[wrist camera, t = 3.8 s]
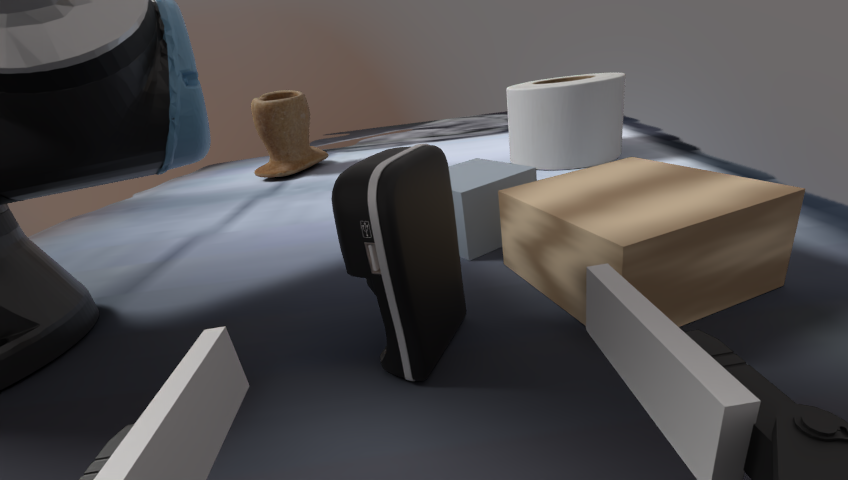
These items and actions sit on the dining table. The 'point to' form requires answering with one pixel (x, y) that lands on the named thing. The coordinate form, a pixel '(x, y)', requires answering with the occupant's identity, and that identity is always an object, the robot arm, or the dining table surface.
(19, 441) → the dining table surface
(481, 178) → the slate-blue block
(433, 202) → the battery charger
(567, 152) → the toilet paper roll
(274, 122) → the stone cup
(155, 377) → the dining table surface
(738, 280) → the oak block
